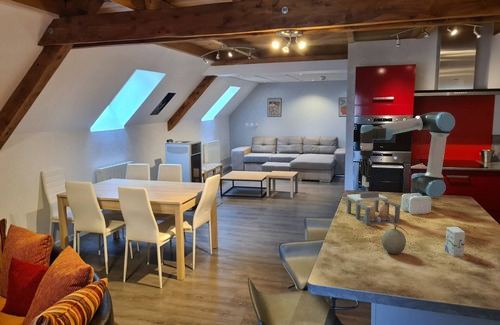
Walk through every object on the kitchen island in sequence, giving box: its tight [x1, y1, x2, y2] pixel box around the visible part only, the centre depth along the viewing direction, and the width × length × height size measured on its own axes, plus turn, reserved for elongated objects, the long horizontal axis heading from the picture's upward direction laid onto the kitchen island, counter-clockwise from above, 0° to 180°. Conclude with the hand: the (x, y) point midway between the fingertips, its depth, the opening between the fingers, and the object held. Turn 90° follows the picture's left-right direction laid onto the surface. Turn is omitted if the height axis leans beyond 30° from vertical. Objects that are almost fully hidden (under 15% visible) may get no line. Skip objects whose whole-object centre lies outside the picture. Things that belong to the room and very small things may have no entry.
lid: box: [346, 191, 389, 202], centre depth 246 cm, size 21×14×4 cm
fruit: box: [381, 219, 409, 255], centre depth 183 cm, size 10×12×15 cm
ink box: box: [444, 226, 466, 257], centre depth 182 cm, size 9×5×12 cm, turn 178°
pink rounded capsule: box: [378, 204, 388, 221], centre depth 234 cm, size 5×5×9 cm
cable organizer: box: [400, 193, 432, 216], centre depth 252 cm, size 15×11×12 cm
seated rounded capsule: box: [367, 204, 376, 222], centre depth 233 cm, size 5×5×9 cm
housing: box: [346, 196, 401, 226], centre depth 240 cm, size 21×27×11 cm
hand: (365, 186), depth 247 cm, fingers open, 2 cm apart
